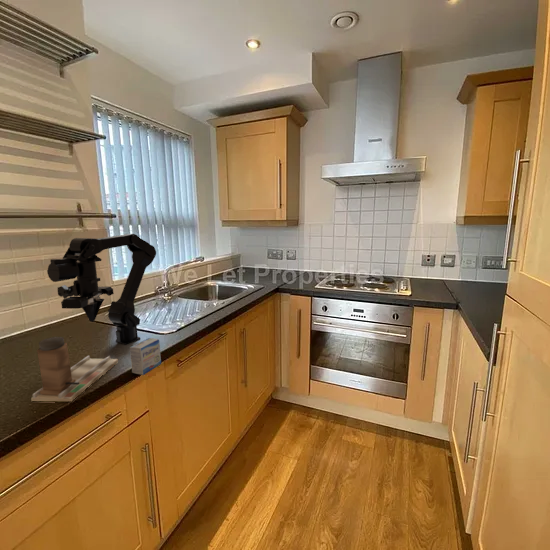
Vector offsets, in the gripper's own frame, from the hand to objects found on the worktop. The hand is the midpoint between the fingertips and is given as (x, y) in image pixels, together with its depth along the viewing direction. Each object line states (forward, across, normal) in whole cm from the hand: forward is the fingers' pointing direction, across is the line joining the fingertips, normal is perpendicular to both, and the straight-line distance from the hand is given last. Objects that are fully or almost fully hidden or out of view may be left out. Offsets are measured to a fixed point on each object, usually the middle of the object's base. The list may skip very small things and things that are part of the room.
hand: (92, 321), depth 103 cm
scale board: (+12, +17, +5) cm, 21 cm away
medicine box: (+12, +9, +22) cm, 27 cm away
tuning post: (+10, +24, +6) cm, 27 cm away
